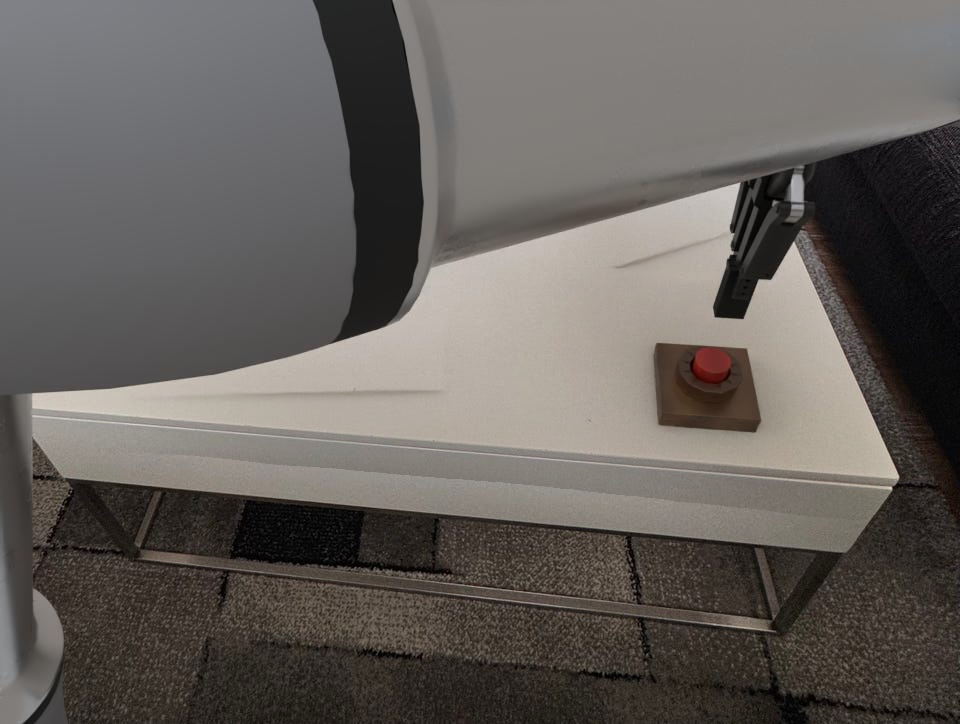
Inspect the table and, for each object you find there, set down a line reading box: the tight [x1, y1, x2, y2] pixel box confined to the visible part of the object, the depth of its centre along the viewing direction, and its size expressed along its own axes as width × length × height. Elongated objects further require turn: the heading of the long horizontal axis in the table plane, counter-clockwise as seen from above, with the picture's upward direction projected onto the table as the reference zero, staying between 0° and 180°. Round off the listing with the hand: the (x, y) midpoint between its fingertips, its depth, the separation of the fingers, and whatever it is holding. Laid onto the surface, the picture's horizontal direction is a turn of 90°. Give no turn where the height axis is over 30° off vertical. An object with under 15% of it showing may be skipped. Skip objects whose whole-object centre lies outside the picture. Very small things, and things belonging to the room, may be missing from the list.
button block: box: [652, 342, 762, 433], centre depth 74 cm, size 10×10×4 cm
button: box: [692, 347, 731, 384], centre depth 72 cm, size 4×4×2 cm
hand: (728, 312), depth 66 cm, fingers closed
